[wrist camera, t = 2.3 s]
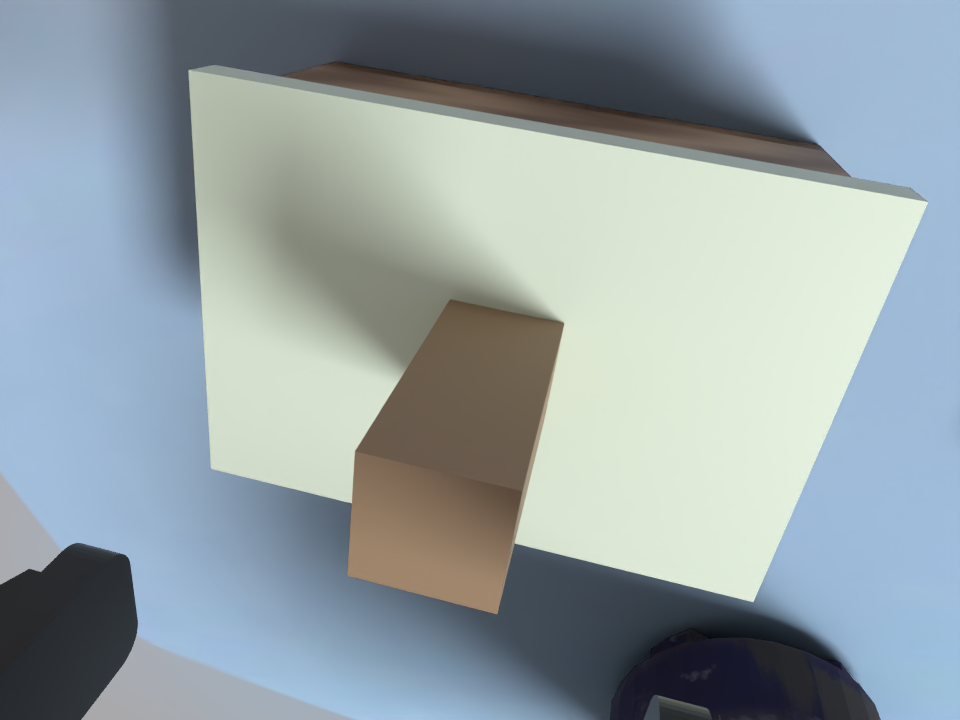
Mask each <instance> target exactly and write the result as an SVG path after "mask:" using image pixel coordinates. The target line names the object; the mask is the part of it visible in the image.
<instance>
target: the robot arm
mask: <svg viewBox="0 0 960 720" xmlns="http://www.w3.org/2000/svg"><path fill="white" fill-rule="evenodd" d="M137 627H138V620H137V613H136V605H135V597H134V590H133V582H132V574H131V567H130V561H129V559H128V557H127V556H126V555H124V554H120V553H116V552H112V551H109V550H105V549H101V548H97V547H93V546H89V545H85V544H82V543H75V544H72V545H70V546H69V547H67V548H66V549H64V550H63V551H62V552H61V553H60V554H59V555H58V556H57V557H56V558H55V559H54V560H53V561H52V562H51V563H50V564H49V565H48V566H47V567H46V568H45V569H44V570H43V571H42V572H38V571H35V570H31V569H28V570H26V571H25V572H23V573H21V574H19V575H18V576H16V577H14V578H12V579H10V580H8V581H7V582H5V583H3V584H1V585H0V720H81V719H82V718H83V717H84V715H85V714H86V713H87V711H88V710H89V709H90V707H91V706H92V704H93V703H94V702H95V701H96V699H97V698H98V697H99V696H100V694H101V693H102V692H103V690H104V689H105V688H106V686H107V685H108V684H109V682H110V681H111V680H112V678H113V677H114V676H115V674H116V673H117V672H118V671H119V669H120V668H121V667H122V665H123V664H124V662H125V661H126V659H127V657H128V655H129V653H130V651H131V649H132V647H133V644H134V641H135V638H136V634H137ZM644 720H712V718H711V714H710V711H709V710H708V709H707V708H704V707H700V706H696V705H692V704H689V703H685V702H681V701H677V700H673V699H669V698H666V697H662V696H658V695H654V696H653V697H652V699H651V701H650V704H649V707H648V709H647V712H646V714H645V717H644Z"/></svg>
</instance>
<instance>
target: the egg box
mask: <svg viewBox="0 0 960 720" xmlns="http://www.w3.org/2000/svg"><path fill="white" fill-rule="evenodd" d="M281 77H286V78H292V79H298V80H303V81H309V82H315V83H320V84H326V85H332V86H337V87H343V88H349V89H354V90H360V91H366V92H371V93H377V94H383V95H388V96H394V97H400V98H405V99H411V100H417V101H422V102H428V103H433V104H439V105H445V106H450V107H456V108H462V109H467V110H473V111H479V112H484V113H490V114H496V115H501V116H507V117H513V118H518V119H524V120H530V121H535V122H541V123H547V124H552V125H558V126H564V127H569V128H575V129H580V130H586V131H592V132H597V133H603V134H609V135H614V136H620V137H626V138H631V139H637V140H643V141H648V142H654V143H660V144H665V145H671V146H677V147H682V148H688V149H694V150H699V151H705V152H711V153H716V154H722V155H727V156H733V157H739V158H744V159H750V160H756V161H761V162H767V163H773V164H778V165H784V166H790V167H795V168H801V169H807V170H812V171H818V172H824V173H829V174H835V175H841V176H846V177H851V176H850V175H849V174H848V173H847V172H846V171H845V170H844V169H843V168H842V167H841V166H840V165H839V164H838V163H837V162H836V161H835V160H834V159H833V158H832V157H831V156H830V155H829V154H828V153H827V152H826V151H825V150H824V149H823V148H822V147H821V146H820V145H816V144H810V143H804V142H799V141H793V140H787V139H781V138H775V137H770V136H764V135H758V134H752V133H746V132H741V131H735V130H729V129H723V128H718V127H712V126H706V125H700V124H694V123H689V122H683V121H677V120H671V119H665V118H660V117H654V116H648V115H642V114H636V113H631V112H625V111H619V110H613V109H608V108H602V107H596V106H590V105H584V104H579V103H573V102H567V101H561V100H555V99H550V98H544V97H538V96H532V95H526V94H521V93H515V92H509V91H503V90H498V89H492V88H486V87H480V86H474V85H469V84H463V83H457V82H451V81H445V80H440V79H434V78H428V77H422V76H416V75H411V74H405V73H399V72H393V71H388V70H382V69H376V68H370V67H364V66H359V65H353V64H347V63H341V62H332V63H328V64H324V65H320V66H317V67H313V68H309V69H305V70H301V71H298V72H294V73H290V74H286V75H283V76H281Z"/></svg>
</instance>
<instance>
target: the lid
mask: <svg viewBox="0 0 960 720" xmlns="http://www.w3.org/2000/svg"><path fill="white" fill-rule="evenodd" d="M188 72H189V90H190V107H191V125H192V142H193V160H194V177H195V195H196V212H197V230H198V247H199V265H200V282H201V300H202V317H203V335H204V352H205V370H206V387H207V405H208V422H209V440H210V457H211V469H214V470H218V471H222V472H226V473H230V474H234V475H238V476H243V477H247V478H251V479H255V480H259V481H263V482H267V483H271V484H275V485H279V486H283V487H287V488H291V489H295V490H299V491H304V492H308V493H312V494H316V495H320V496H324V497H328V498H332V499H336V500H340V501H344V502H348V503H352V507H351V523H350V540H349V556H348V573H347V576H350V577H354V578H358V579H362V580H366V581H370V582H373V583H377V584H381V585H385V586H389V587H393V588H397V589H401V590H404V591H408V592H412V593H416V594H420V595H424V596H428V597H432V598H435V599H439V600H443V601H447V602H451V603H455V604H459V605H463V606H466V607H470V608H474V609H478V610H482V611H486V612H490V613H494V614H498V610H499V606H500V601H501V597H502V593H503V589H504V585H505V581H506V577H507V573H508V568H509V564H510V560H511V556H512V552H513V548H514V544H519V545H523V546H527V547H531V548H535V549H539V550H543V551H548V552H552V553H556V554H560V555H564V556H568V557H572V558H576V559H580V560H584V561H588V562H592V563H596V564H600V565H604V566H609V567H613V568H617V569H621V570H625V571H629V572H633V573H637V574H641V575H645V576H649V577H653V578H657V579H661V580H665V581H670V582H674V583H678V584H682V585H686V586H690V587H694V588H698V589H702V590H706V591H710V592H714V593H718V594H722V595H726V596H731V597H735V598H739V599H743V600H747V601H751V602H754V599H755V597H756V595H757V593H758V590H759V588H760V586H761V583H762V581H763V579H764V577H765V574H766V572H767V570H768V567H769V565H770V563H771V561H772V558H773V556H774V554H775V551H776V549H777V547H778V544H779V542H780V540H781V538H782V535H783V533H784V531H785V528H786V526H787V524H788V522H789V519H790V517H791V515H792V512H793V510H794V508H795V506H796V503H797V501H798V499H799V496H800V494H801V492H802V490H803V487H804V485H805V483H806V480H807V478H808V476H809V474H810V471H811V469H812V467H813V464H814V462H815V460H816V458H817V455H818V453H819V451H820V448H821V446H822V444H823V442H824V439H825V437H826V435H827V432H828V430H829V428H830V426H831V423H832V421H833V419H834V416H835V414H836V412H837V410H838V407H839V405H840V403H841V400H842V398H843V396H844V394H845V391H846V389H847V387H848V384H849V382H850V380H851V378H852V375H853V373H854V371H855V368H856V366H857V364H858V362H859V359H860V357H861V355H862V352H863V350H864V348H865V346H866V343H867V341H868V339H869V336H870V334H871V332H872V330H873V327H874V325H875V323H876V320H877V318H878V316H879V313H880V311H881V309H882V307H883V304H884V302H885V300H886V297H887V295H888V293H889V291H890V288H891V286H892V284H893V281H894V279H895V277H896V275H897V272H898V270H899V268H900V265H901V263H902V261H903V259H904V256H905V254H906V252H907V249H908V247H909V245H910V243H911V240H912V238H913V236H914V233H915V231H916V229H917V227H918V224H919V222H920V220H921V217H922V215H923V213H924V211H925V208H926V206H927V204H928V201H926V200H925V199H924V198H923V197H921V196H920V195H919V194H918V193H917V192H915V191H914V190H913V189H912V188H908V187H903V186H897V185H891V184H886V183H880V182H874V181H869V180H863V179H858V178H852V177H846V176H841V175H835V174H829V173H824V172H818V171H812V170H807V169H801V168H795V167H790V166H784V165H778V164H773V163H767V162H761V161H756V160H750V159H744V158H739V157H733V156H727V155H722V154H716V153H711V152H705V151H699V150H694V149H688V148H682V147H677V146H671V145H665V144H660V143H654V142H648V141H643V140H637V139H631V138H626V137H620V136H614V135H609V134H603V133H597V132H592V131H586V130H580V129H575V128H569V127H564V126H558V125H552V124H547V123H541V122H535V121H530V120H524V119H518V118H513V117H507V116H501V115H496V114H490V113H484V112H479V111H473V110H467V109H462V108H456V107H450V106H445V105H439V104H433V103H428V102H422V101H417V100H411V99H405V98H400V97H394V96H388V95H383V94H377V93H371V92H366V91H360V90H354V89H349V88H343V87H337V86H332V85H326V84H320V83H315V82H309V81H303V80H298V79H292V78H286V77H281V76H275V75H270V74H264V73H258V72H253V71H247V70H241V69H236V68H230V67H224V66H219V65H210V66H205V67H200V68H195V69H190V70H188Z"/></svg>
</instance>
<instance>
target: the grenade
mask: <svg viewBox="0 0 960 720" xmlns="http://www.w3.org/2000/svg"><path fill="white" fill-rule="evenodd" d="M654 695H658V696H662V697H666V698H669V699H673V700H677V701H681V702H685V703H689V704H692V705H696V706H700V707H704V708H707V709H708V710H709V711H710V714H711V718H712V720H880V717H879V714H878V712H877V709H876V706H875V704H874V703H873V701H872V700H871V699H870V698H869V696H868V695H867V694H866V692H865V691H864V690H863V689H862V687H861V686H860V685H859V684H858V683H857V682H856V681H854V680H853V679H852V677H851V676H850V675H849V673H848V672H847V671H846V670H845V668H844V667H843V666H842V665H841V663H839V662H837V661H825V660H823V659H821V658H819V657H817V656H815V655H813V654H811V653H809V652H806V651H803V650H800V649H796V648H793V647H790V646H787V645H784V644H780V643H777V642H773V641H766V640H759V639H752V638H714V639H707V637H706V636H705V635H703V634H701V633H699V632H697V631H695V630H693V629H689V630H686V631H684V632H681V633H678V634H676V635H673V636H671V637H669V638H668V639H666V640H665V641H663V642H661V643H660V644H658V645H657V646H655V647H654V648H653V649H651V657H650V658H648V659H647V660H645V661H644V662H642V663H641V664H639V665H637V666H636V667H635V668H634V669H633V670H632V671H631V672H630V673H629V674H628V675H627V676H626V677H625V678H624V680H623V681H622V682H621V683H620V685H619V687H618V689H617V691H616V693H615V695H614V698H613V700H612V704H611V713H610V720H644V717H645V714H646V712H647V709H648V707H649V704H650V701H651V699H652V697H653V696H654Z"/></svg>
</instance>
